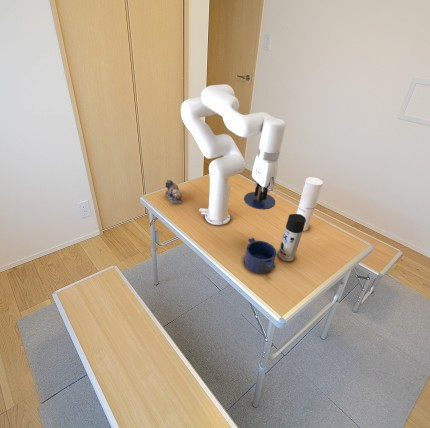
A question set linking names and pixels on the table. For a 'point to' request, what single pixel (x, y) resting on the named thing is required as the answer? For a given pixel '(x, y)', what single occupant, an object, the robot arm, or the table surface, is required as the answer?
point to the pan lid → (255, 203)
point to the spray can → (291, 236)
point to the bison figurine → (173, 192)
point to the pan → (260, 256)
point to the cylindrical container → (309, 199)
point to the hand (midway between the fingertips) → (260, 197)
